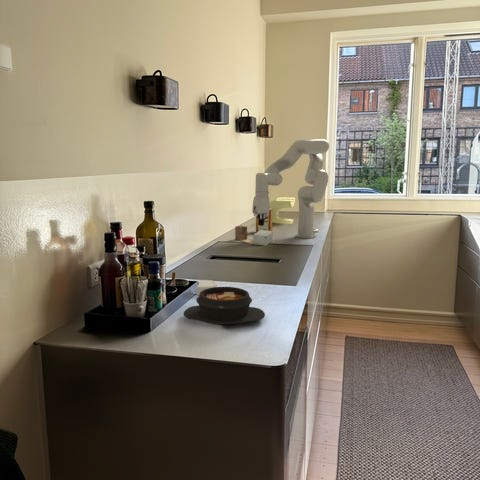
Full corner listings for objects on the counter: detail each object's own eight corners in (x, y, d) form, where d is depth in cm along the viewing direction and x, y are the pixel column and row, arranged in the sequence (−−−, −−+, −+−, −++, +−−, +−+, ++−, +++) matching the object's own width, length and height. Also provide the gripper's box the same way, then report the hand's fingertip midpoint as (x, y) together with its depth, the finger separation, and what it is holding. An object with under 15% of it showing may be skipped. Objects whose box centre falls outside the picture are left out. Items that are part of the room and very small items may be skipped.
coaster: (199, 298, 164) (199, 288, 163) (185, 291, 172) (185, 282, 171) (222, 293, 170) (222, 284, 169) (207, 286, 178) (207, 278, 177)
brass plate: (255, 239, 280) (255, 238, 280) (268, 242, 271) (268, 241, 271) (239, 241, 273) (239, 240, 273) (252, 244, 264) (252, 243, 264)
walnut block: (240, 238, 282) (240, 225, 280) (247, 239, 278) (247, 226, 277) (235, 239, 278) (235, 226, 276) (241, 240, 275) (241, 227, 273)
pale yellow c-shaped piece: (274, 219, 370) (275, 197, 367) (294, 220, 366) (295, 197, 363) (268, 224, 341) (268, 200, 338) (289, 225, 338) (290, 201, 335)
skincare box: (259, 239, 276) (252, 244, 262) (260, 229, 275) (252, 234, 261) (273, 240, 273) (266, 246, 260) (273, 230, 272) (266, 236, 258)
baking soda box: (272, 232, 307) (272, 208, 304) (270, 233, 301) (270, 209, 298) (258, 231, 310) (258, 207, 307) (256, 232, 303) (256, 208, 301)
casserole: (177, 328, 134) (177, 300, 133) (189, 308, 152) (189, 283, 151) (264, 332, 132) (264, 303, 131) (265, 310, 151) (266, 285, 149)
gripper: (267, 193, 278) (266, 223, 281) (247, 194, 269) (247, 225, 272) (275, 194, 272) (274, 225, 275) (256, 195, 263) (255, 227, 266)
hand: (261, 225), depth 274 cm, fingers closed
